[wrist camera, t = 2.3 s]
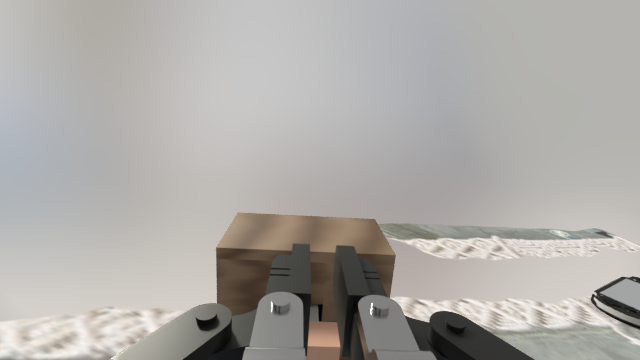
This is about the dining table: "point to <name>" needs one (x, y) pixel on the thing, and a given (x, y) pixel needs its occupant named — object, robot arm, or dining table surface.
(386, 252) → the box
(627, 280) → the gaming console
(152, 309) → the dining table surface
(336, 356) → the pinkish brown block
